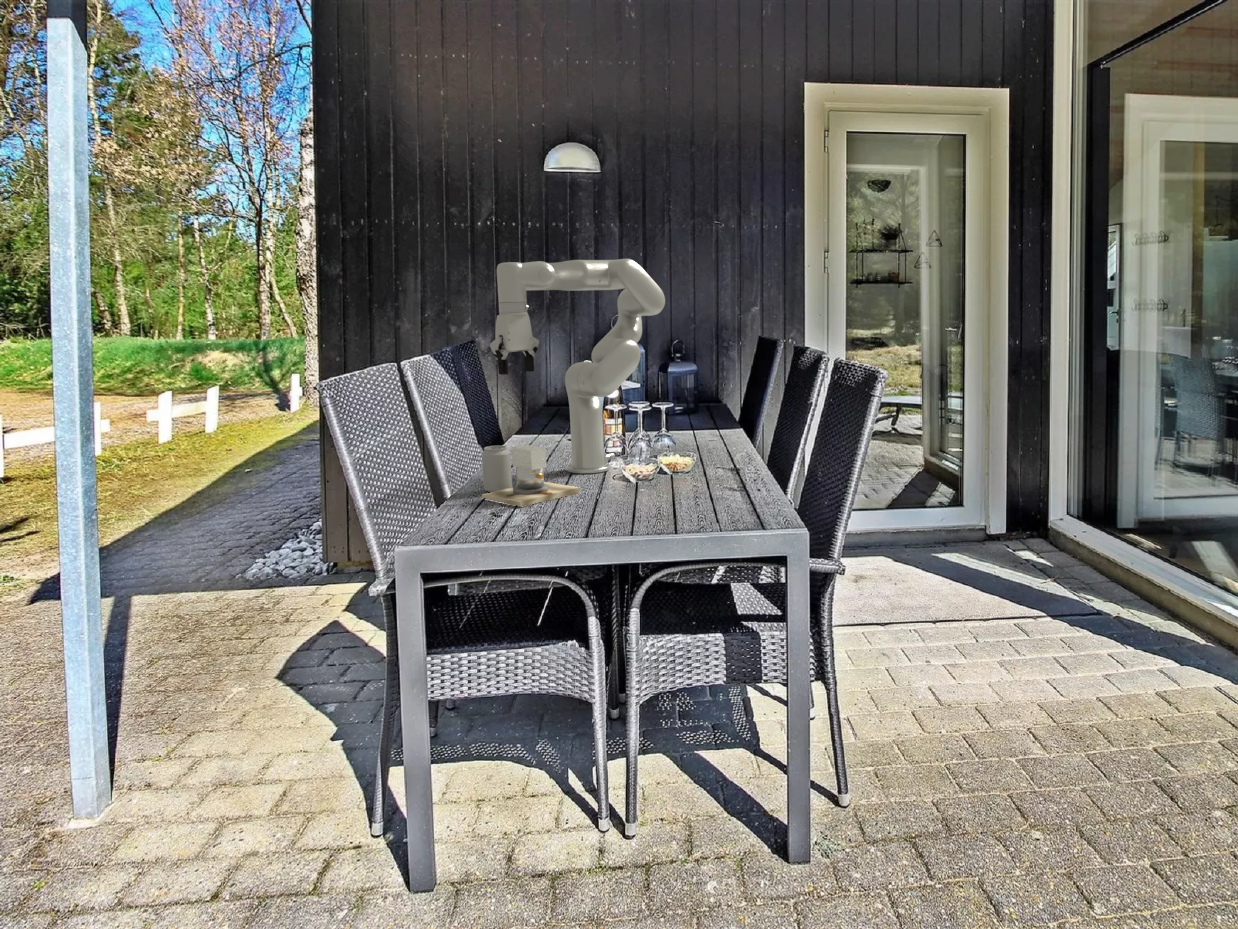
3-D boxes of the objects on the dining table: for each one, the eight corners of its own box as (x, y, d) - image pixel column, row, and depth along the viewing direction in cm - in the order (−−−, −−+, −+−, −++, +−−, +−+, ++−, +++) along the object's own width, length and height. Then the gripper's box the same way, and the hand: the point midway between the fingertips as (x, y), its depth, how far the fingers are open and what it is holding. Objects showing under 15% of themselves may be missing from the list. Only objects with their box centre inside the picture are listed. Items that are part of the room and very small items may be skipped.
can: (515, 487, 236) (512, 444, 233) (509, 493, 228) (506, 448, 226) (487, 488, 236) (485, 444, 234) (481, 494, 229) (477, 449, 227)
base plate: (540, 486, 236) (540, 477, 236) (579, 493, 226) (578, 483, 226) (482, 500, 222) (481, 490, 221) (520, 507, 212) (520, 497, 211)
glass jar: (509, 485, 225) (507, 447, 223) (532, 481, 229) (530, 443, 227) (531, 491, 217) (529, 451, 215) (554, 486, 221) (552, 447, 219)
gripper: (526, 308, 244) (529, 370, 247) (479, 310, 231) (483, 375, 234) (545, 308, 239) (548, 370, 243) (498, 309, 226) (502, 375, 230)
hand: (516, 372), depth 238 cm, fingers open, 9 cm apart
